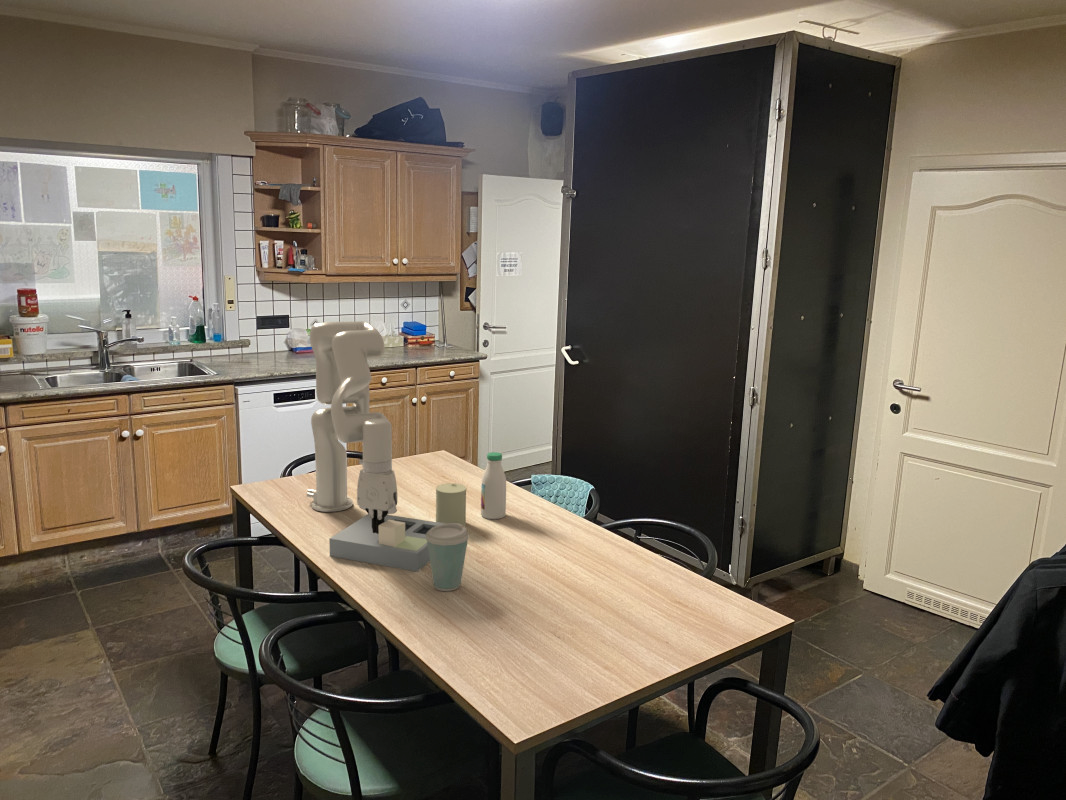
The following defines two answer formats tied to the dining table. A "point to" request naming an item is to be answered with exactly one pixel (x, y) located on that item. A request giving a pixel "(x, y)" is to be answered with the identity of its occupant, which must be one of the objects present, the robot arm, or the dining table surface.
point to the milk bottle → (493, 488)
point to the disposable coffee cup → (447, 554)
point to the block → (391, 533)
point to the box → (366, 548)
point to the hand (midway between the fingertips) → (378, 531)
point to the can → (451, 503)
